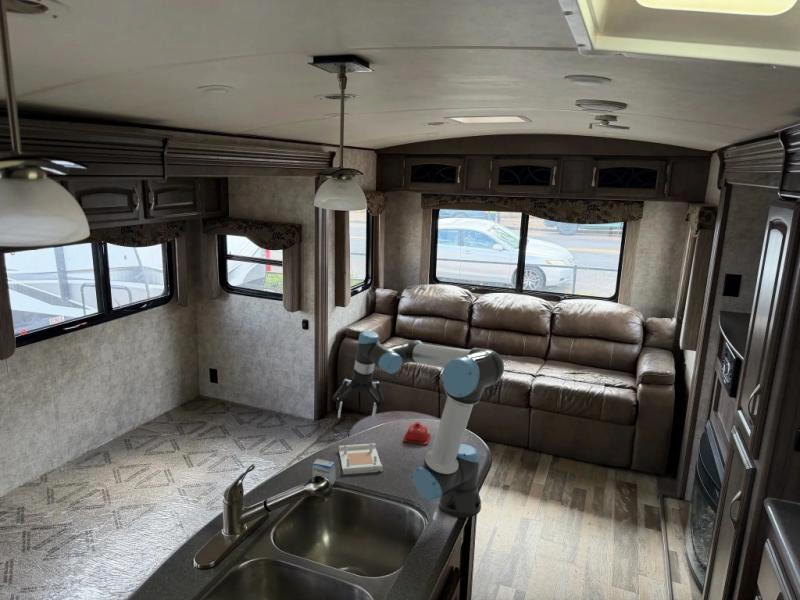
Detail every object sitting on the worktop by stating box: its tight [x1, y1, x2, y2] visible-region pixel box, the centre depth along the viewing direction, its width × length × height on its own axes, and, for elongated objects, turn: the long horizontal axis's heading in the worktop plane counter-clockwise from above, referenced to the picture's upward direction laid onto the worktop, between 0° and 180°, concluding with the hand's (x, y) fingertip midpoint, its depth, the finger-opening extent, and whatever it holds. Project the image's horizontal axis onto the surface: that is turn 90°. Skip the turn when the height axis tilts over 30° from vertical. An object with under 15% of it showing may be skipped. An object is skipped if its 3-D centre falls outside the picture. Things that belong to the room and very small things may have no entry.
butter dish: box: [402, 421, 431, 445], centre depth 254 cm, size 12×12×8 cm
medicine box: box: [312, 458, 336, 486], centre depth 215 cm, size 8×4×9 cm, turn 73°
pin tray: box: [338, 442, 384, 475], centre depth 233 cm, size 20×16×4 cm
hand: (356, 417), depth 218 cm, fingers open, 13 cm apart
